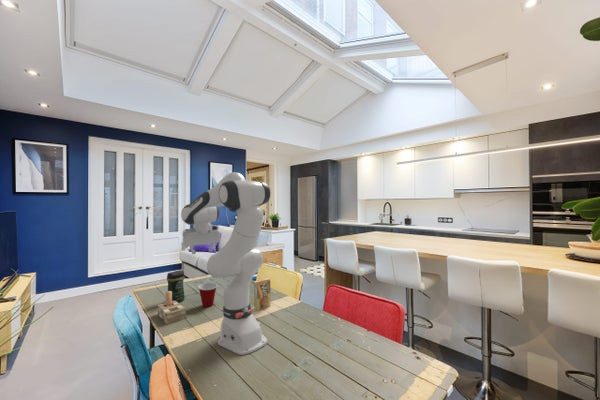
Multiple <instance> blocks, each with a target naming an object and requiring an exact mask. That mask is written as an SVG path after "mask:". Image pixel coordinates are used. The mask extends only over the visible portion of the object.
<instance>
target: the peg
mask: <svg viewBox="0 0 600 400" xmlns="http://www.w3.org/2000/svg"><path fill="white" fill-rule="evenodd" d="M165 303H166V307H169V306H172V291H168V290H167V291H165Z"/></svg>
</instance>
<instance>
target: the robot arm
mask: <svg viewBox="0 0 600 400" xmlns="http://www.w3.org/2000/svg"><path fill="white" fill-rule="evenodd" d="M270 198H271V189H270V186H269V185H268V184H267V183H266V182H264V181H261V180H246V178H245V177H244V175H242V174H241V173H239V172H236V171H234V172H229V173H228V174H226V175H225V176H224V177H223V178H222V179H220V180H219V182H218V183H217V184H216V185H214V186H212V187H211V188H210V189H208V190H206V191H203V192H202V193H201V194H199V195H198V196H196V198H195V199H193V200H192V201H191V202H190V203H189V204H185V206H184V207H183V208H182V209H181V212H180V216H181V217H180V218H181V219H182V222H184V223H185V224H187V225H193V226H192V227H193V228H186V229H183V231H182V244H181V245H182V246H183V247H189V250H191V254H192V255H196V251H197V250H195V249H194V248H195V246H203V245H209V244H210V247H209V248H208V252H213V249H214V246H215V244H217V243H220V242H221V232H220V231H219V230H220V227H219V226H218V225H215V224H213V223H214V222H216V221H218V220H219V218H220V208H219V207H225V208H228V210H229V212H233V213H235V212H236V213H237V216H236V220H235V222H234V225H233V229H232V232H231V234H230V237H229V240H228V241H227V242H226V243H225V244H224V245H223V246H222V248H221V249H219V250H218V251H217V252H215V253H214V254H212V255H210V257H209V258H208V260H207V262H206V269H207V272H208V274H209V275H210V276H211V277H212V278H214V279H215V278H216V279H217V278H218V279H219V278H220V279H221V278H229V277H233V279H232V280H231V281H230V282H229V283H228V284H227V285H225V288H224V290H223V302H224V303H223V309H222V313H223V314H222V315H223V319H222V320H221V322H220V332H219V333H220V334H219V335H220V336H219V339H218V340H217V345H218V346H220V347H223V348H224V349H227V350H229V351H230V352H233V353H235V354H237V355H239V356H243V355H247V354H251V353H254V352H255V351H257V350H259V349H261V348H263V347H264V346H265V345H266V344H267V343H268V338H267V337H266V336H265V335H264V334H263V333H262V324H261V321H258V320H257V319H256V317H255V316H254V315H253V308H252V306H251V302H250V292H251V291H250V288H251V284H252V280H253V278H254V276H255V274H256V273H257V271H258V270H259V269H260V268H261V267H262V265H263V262H264V261H263V260H264V257H263V253H262V252H261V250H259V249H258V248H255V247H256V244H257V242H258V240H259V237H260V234H261V232H262V231H261V230H262V227H263V223H264V218H265V217H264V216H265V215H264V211H263V209H262V208H261V207H260V206H262V205H266V204H267V203H268V202H269V201H270Z"/></svg>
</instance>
